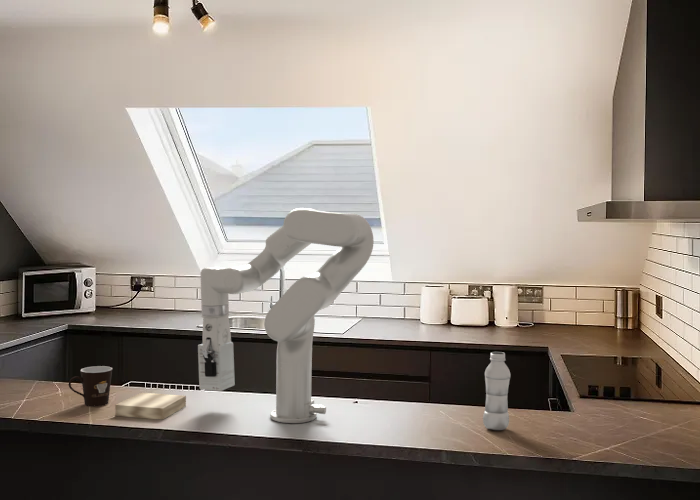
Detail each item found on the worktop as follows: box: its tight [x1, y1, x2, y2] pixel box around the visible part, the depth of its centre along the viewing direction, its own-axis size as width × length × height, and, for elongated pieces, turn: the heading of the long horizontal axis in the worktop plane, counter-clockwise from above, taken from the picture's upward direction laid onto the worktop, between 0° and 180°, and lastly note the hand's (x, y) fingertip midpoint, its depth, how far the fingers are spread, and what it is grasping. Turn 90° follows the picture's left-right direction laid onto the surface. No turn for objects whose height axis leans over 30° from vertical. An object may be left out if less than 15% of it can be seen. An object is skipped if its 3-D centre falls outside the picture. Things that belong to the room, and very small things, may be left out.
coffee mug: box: [68, 365, 113, 408], centre depth 203 cm, size 12×9×10 cm
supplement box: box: [197, 341, 236, 392], centre depth 199 cm, size 7×7×13 cm
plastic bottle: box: [482, 351, 511, 431], centre depth 184 cm, size 6×7×20 cm
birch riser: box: [114, 392, 187, 421], centre depth 197 cm, size 14×14×3 cm
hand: (217, 372), depth 199 cm, fingers closed on supplement box, 8 cm apart
